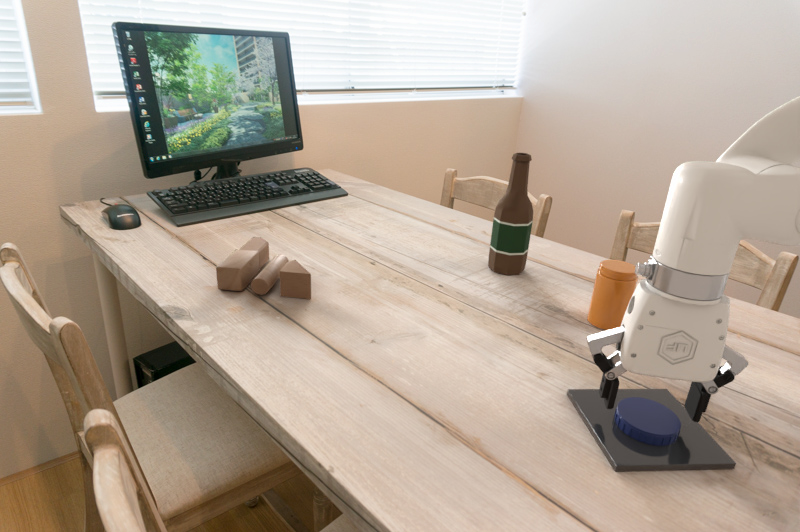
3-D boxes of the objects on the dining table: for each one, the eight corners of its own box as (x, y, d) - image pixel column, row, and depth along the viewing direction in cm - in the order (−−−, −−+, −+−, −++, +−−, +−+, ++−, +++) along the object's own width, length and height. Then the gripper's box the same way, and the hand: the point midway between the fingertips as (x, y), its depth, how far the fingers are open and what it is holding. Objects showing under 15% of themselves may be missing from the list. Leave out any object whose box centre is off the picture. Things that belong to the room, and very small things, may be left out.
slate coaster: (665, 393, 72) (666, 388, 72) (734, 469, 59) (736, 463, 59) (566, 394, 70) (567, 389, 70) (615, 471, 58) (616, 465, 57)
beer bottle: (487, 260, 115) (501, 148, 106) (523, 263, 114) (540, 152, 105) (487, 273, 108) (502, 155, 99) (526, 277, 107) (545, 159, 98)
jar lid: (612, 402, 68) (614, 391, 67) (672, 414, 66) (675, 404, 66) (616, 437, 62) (619, 426, 61) (683, 452, 60) (687, 441, 59)
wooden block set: (212, 262, 91) (250, 230, 107) (214, 292, 93) (252, 256, 109) (309, 271, 89) (332, 237, 106) (309, 301, 91) (332, 263, 108)
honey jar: (616, 314, 94) (629, 259, 90) (632, 331, 88) (647, 274, 84) (581, 312, 94) (592, 258, 90) (595, 330, 88) (608, 272, 84)
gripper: (609, 282, 55) (579, 416, 61) (790, 303, 53) (738, 440, 59) (597, 257, 62) (570, 380, 68) (756, 274, 59) (713, 400, 66)
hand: (648, 408), depth 64 cm, fingers open, 9 cm apart
